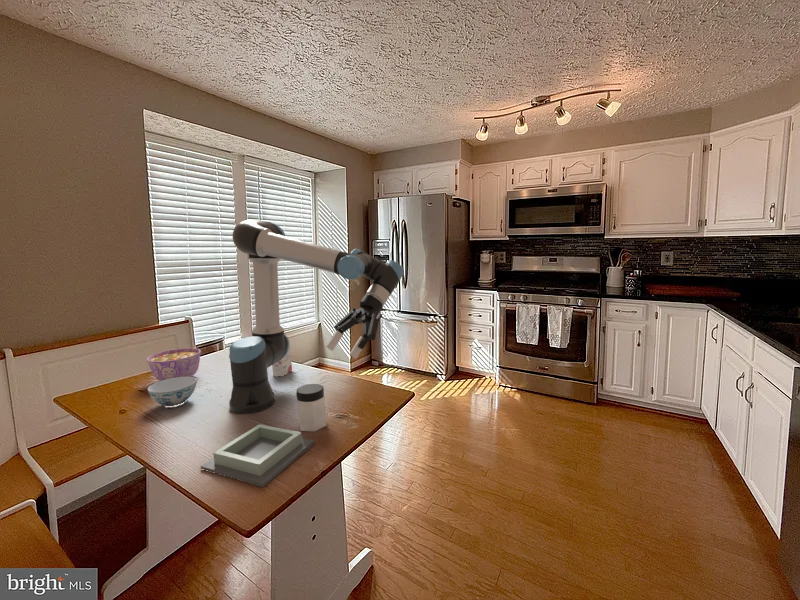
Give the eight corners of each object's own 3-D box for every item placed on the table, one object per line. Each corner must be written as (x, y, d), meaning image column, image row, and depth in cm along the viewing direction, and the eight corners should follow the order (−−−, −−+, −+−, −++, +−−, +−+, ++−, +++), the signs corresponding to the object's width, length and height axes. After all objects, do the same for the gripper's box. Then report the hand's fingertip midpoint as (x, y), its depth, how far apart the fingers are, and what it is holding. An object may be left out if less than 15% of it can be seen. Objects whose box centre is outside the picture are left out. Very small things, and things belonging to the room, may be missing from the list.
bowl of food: (165, 392, 146) (161, 364, 144) (140, 383, 156) (137, 357, 155) (213, 376, 162) (210, 351, 161) (188, 369, 173) (185, 345, 171)
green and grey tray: (201, 469, 93) (199, 455, 92) (259, 432, 111) (257, 419, 111) (262, 487, 85) (261, 471, 85) (314, 443, 104) (313, 430, 103)
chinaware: (141, 409, 131) (138, 388, 129) (181, 393, 144) (179, 374, 143) (167, 416, 124) (165, 394, 123) (207, 399, 138) (205, 379, 136)
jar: (316, 416, 121) (313, 381, 119) (332, 423, 115) (330, 386, 114) (292, 427, 114) (289, 390, 112) (308, 435, 109) (305, 396, 107)
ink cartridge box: (282, 370, 168) (279, 338, 166) (292, 370, 167) (289, 338, 165) (272, 376, 160) (269, 343, 158) (282, 377, 159) (280, 343, 157)
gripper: (405, 310, 119) (371, 366, 111) (359, 303, 138) (327, 351, 130) (392, 295, 115) (355, 353, 107) (346, 291, 133) (312, 340, 125)
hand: (340, 352), depth 118 cm, fingers open, 13 cm apart
